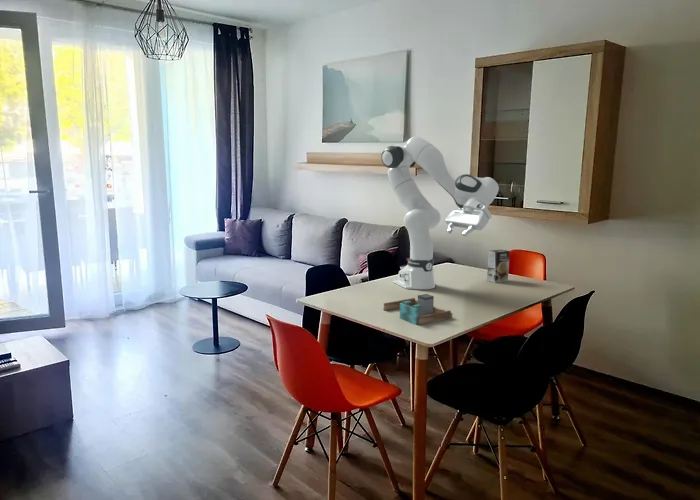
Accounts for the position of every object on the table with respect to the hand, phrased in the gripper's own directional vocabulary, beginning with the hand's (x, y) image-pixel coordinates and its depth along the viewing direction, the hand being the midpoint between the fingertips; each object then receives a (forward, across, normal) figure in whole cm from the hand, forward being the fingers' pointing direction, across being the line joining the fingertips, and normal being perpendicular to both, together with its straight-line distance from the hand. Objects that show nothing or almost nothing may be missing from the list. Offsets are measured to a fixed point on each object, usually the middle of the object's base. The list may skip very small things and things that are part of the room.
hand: (456, 233), depth 219 cm
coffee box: (-15, -22, +60) cm, 65 cm away
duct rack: (+37, +1, +7) cm, 38 cm away
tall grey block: (+37, +6, +7) cm, 39 cm away
